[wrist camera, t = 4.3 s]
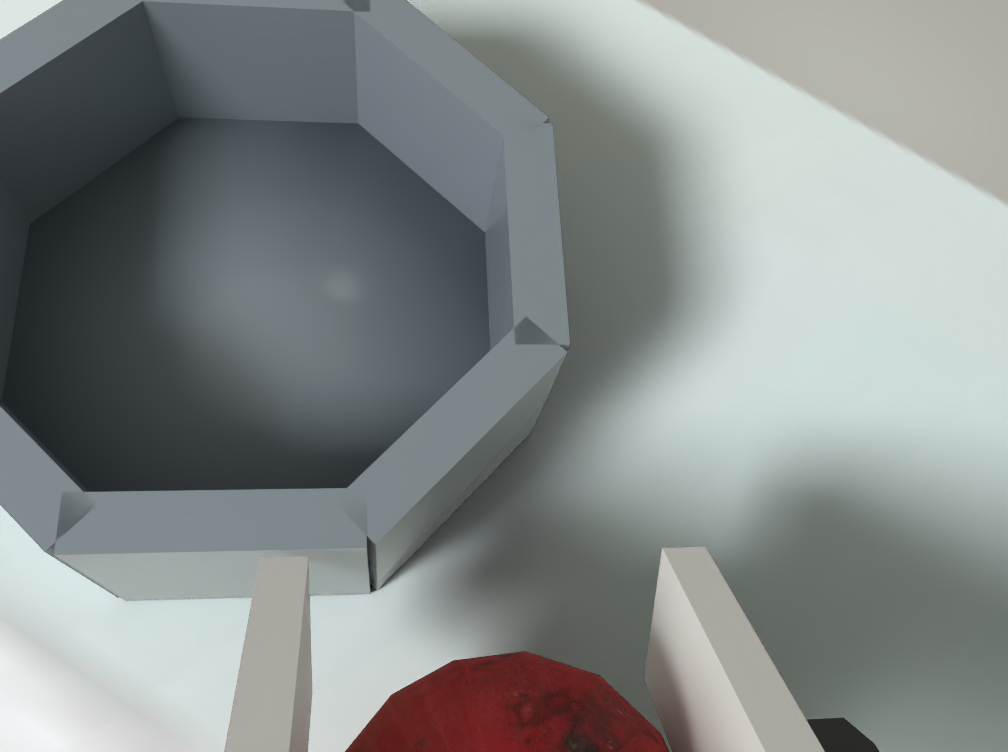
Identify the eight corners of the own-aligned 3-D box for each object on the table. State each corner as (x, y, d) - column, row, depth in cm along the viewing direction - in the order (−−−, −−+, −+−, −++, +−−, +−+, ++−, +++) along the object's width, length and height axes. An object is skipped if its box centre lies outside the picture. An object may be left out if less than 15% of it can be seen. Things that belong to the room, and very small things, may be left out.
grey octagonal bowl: (632, 329, 23) (687, 231, 18) (243, 728, 18) (202, 718, 14) (279, 27, 25) (258, -122, 20) (-143, 324, 20) (-277, 212, 16)
